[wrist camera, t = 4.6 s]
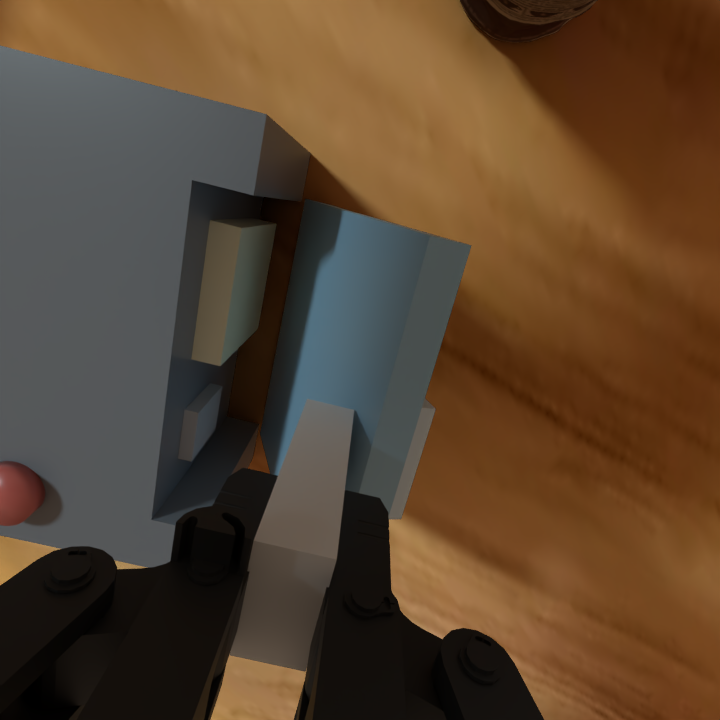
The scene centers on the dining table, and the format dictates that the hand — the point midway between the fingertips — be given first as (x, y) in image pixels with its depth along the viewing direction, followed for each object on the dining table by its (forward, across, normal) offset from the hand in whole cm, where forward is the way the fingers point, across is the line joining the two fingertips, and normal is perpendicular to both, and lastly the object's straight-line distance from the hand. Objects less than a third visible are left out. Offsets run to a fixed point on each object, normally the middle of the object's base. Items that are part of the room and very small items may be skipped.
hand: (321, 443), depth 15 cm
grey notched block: (+13, -10, 0) cm, 16 cm away
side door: (+12, -2, 0) cm, 12 cm away
